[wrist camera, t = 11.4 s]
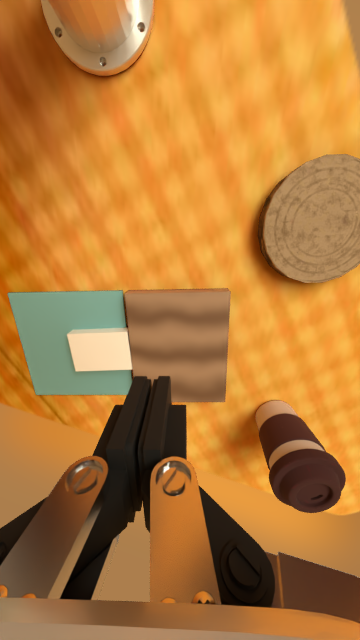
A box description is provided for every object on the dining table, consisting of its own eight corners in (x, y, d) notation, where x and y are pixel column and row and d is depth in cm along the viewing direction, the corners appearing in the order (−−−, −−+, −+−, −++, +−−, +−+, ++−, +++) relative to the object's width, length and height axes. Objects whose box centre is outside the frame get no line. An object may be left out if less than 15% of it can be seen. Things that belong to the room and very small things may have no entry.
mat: (9, 292, 37) (7, 293, 37) (122, 290, 37) (121, 290, 36) (37, 393, 44) (36, 394, 43) (133, 393, 43) (133, 394, 43)
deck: (128, 290, 37) (124, 293, 34) (227, 288, 36) (230, 291, 34) (139, 393, 43) (136, 402, 41) (222, 393, 42) (225, 401, 40)
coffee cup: (250, 392, 42) (282, 468, 28) (303, 393, 42) (363, 470, 28) (245, 433, 46) (272, 520, 31) (295, 434, 45) (344, 522, 31)
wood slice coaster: (260, 287, 36) (266, 291, 33) (253, 174, 31) (260, 168, 28) (364, 270, 35) (380, 273, 32) (375, 150, 30) (395, 140, 27)
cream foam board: (72, 329, 39) (66, 334, 37) (130, 327, 38) (127, 331, 36) (80, 365, 41) (75, 371, 39) (134, 363, 40) (132, 369, 39)
